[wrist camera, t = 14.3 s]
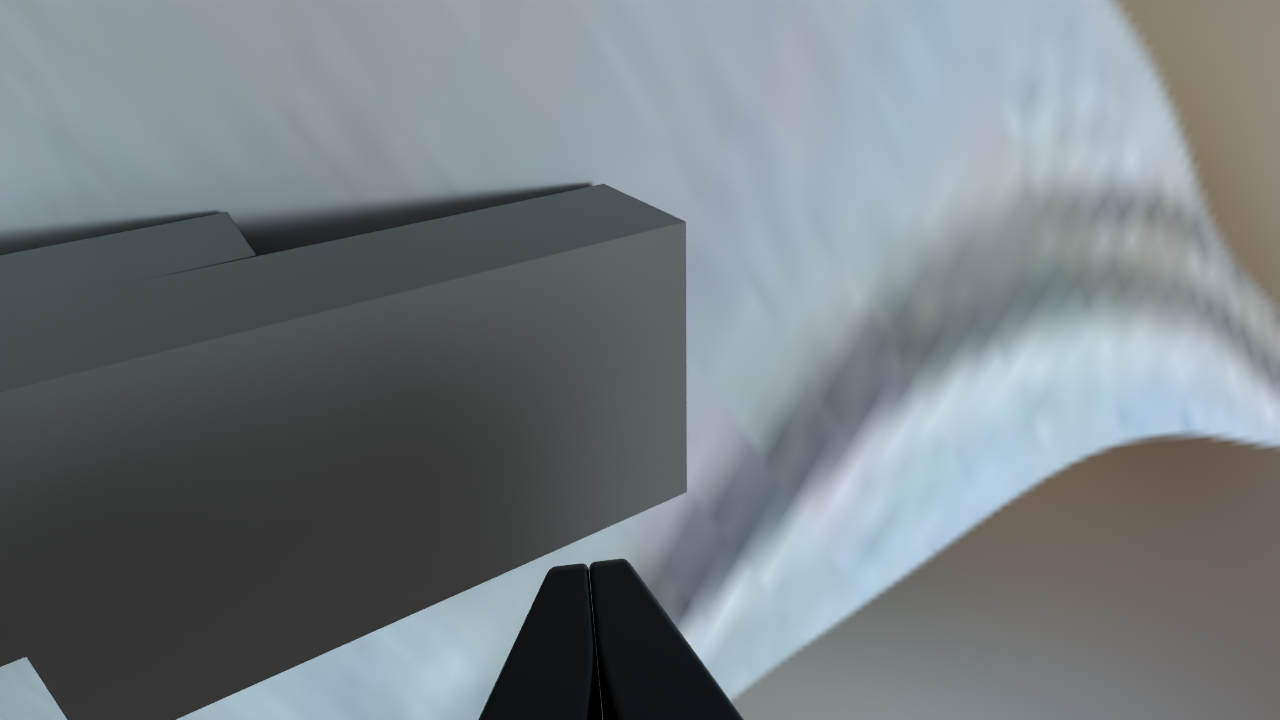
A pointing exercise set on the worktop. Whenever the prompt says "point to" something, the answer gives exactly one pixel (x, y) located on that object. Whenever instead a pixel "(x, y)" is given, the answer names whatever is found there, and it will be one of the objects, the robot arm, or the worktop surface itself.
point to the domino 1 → (113, 278)
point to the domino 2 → (327, 440)
